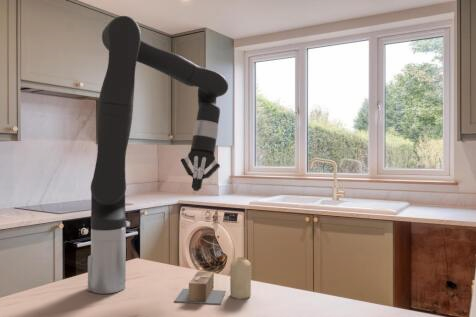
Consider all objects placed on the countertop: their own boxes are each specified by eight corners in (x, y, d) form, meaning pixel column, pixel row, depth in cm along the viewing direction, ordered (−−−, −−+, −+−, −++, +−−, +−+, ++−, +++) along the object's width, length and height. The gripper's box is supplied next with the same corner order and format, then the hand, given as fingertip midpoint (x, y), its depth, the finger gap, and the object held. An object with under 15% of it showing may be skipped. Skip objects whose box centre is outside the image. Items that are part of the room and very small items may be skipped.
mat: (174, 302, 99) (174, 300, 99) (183, 289, 108) (183, 288, 108) (220, 304, 97) (220, 303, 97) (225, 291, 106) (225, 290, 106)
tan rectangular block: (197, 286, 109) (188, 300, 99) (197, 270, 109) (188, 282, 99) (213, 287, 108) (205, 301, 98) (213, 271, 108) (206, 283, 98)
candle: (248, 299, 100) (249, 261, 100) (228, 298, 102) (228, 260, 101) (252, 292, 106) (252, 256, 106) (232, 290, 107) (232, 255, 107)
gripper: (182, 131, 119) (172, 187, 117) (224, 137, 118) (215, 193, 116) (186, 135, 127) (178, 188, 125) (226, 141, 125) (218, 194, 124)
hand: (196, 190), depth 121 cm, fingers closed
